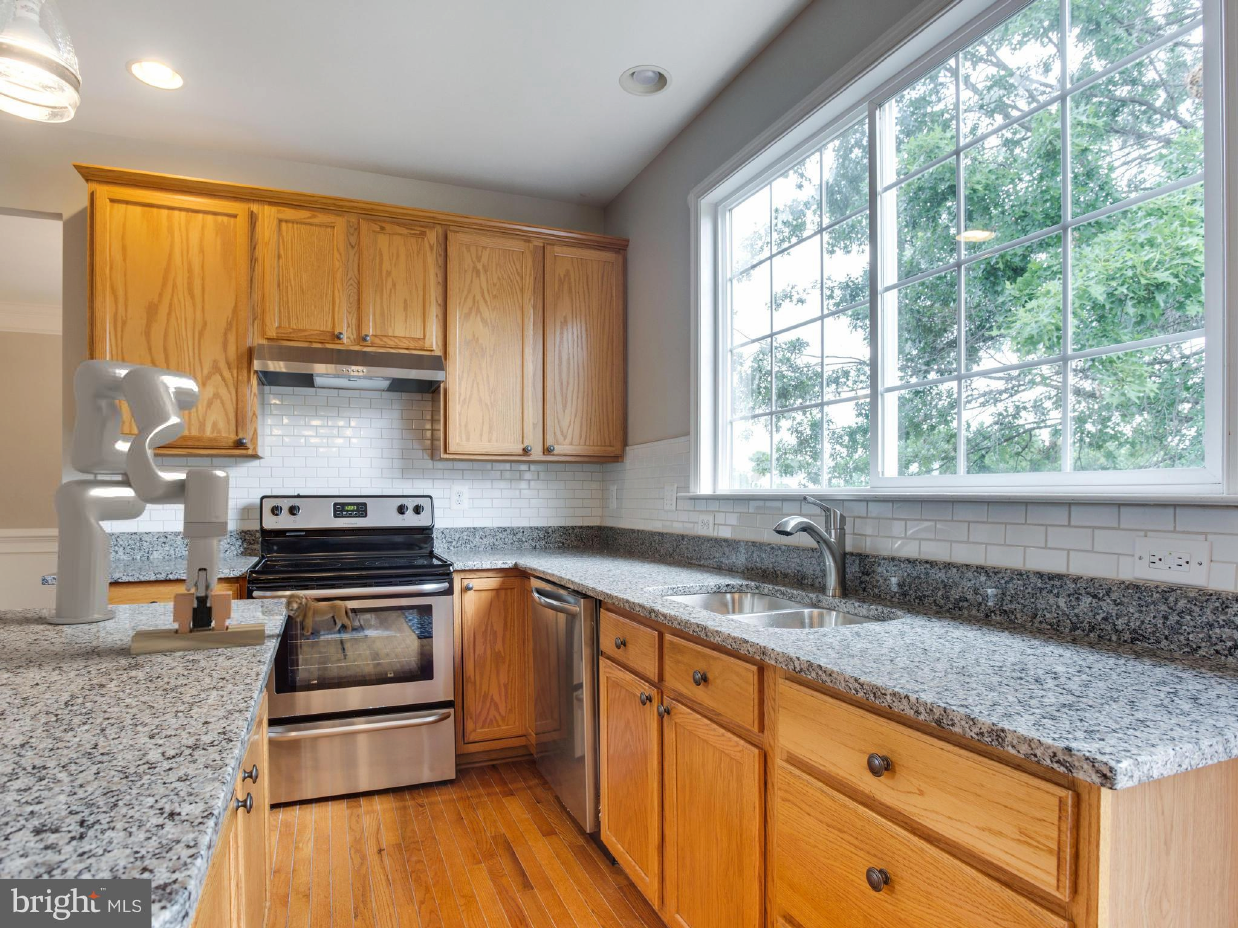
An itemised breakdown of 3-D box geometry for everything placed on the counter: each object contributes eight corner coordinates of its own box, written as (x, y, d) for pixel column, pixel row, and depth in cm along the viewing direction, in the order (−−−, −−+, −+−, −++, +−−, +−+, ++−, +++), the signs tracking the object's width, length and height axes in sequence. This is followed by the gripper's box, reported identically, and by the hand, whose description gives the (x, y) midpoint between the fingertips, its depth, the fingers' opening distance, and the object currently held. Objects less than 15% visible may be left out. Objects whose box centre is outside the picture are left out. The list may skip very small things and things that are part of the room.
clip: (174, 632, 138) (175, 593, 138) (230, 629, 142) (232, 590, 142) (172, 636, 134) (173, 596, 135) (230, 632, 139) (231, 593, 139)
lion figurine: (285, 638, 146) (286, 594, 146) (282, 633, 150) (284, 590, 150) (360, 632, 153) (361, 590, 153) (355, 627, 158) (356, 587, 158)
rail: (136, 646, 136) (137, 630, 136) (264, 637, 146) (265, 622, 146) (130, 654, 130) (131, 637, 130) (264, 644, 140) (265, 629, 140)
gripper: (187, 528, 145) (184, 619, 144) (178, 534, 130) (175, 635, 129) (229, 528, 148) (226, 617, 147) (225, 533, 133) (222, 632, 133)
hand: (202, 624), depth 138 cm, fingers closed on clip, 3 cm apart
